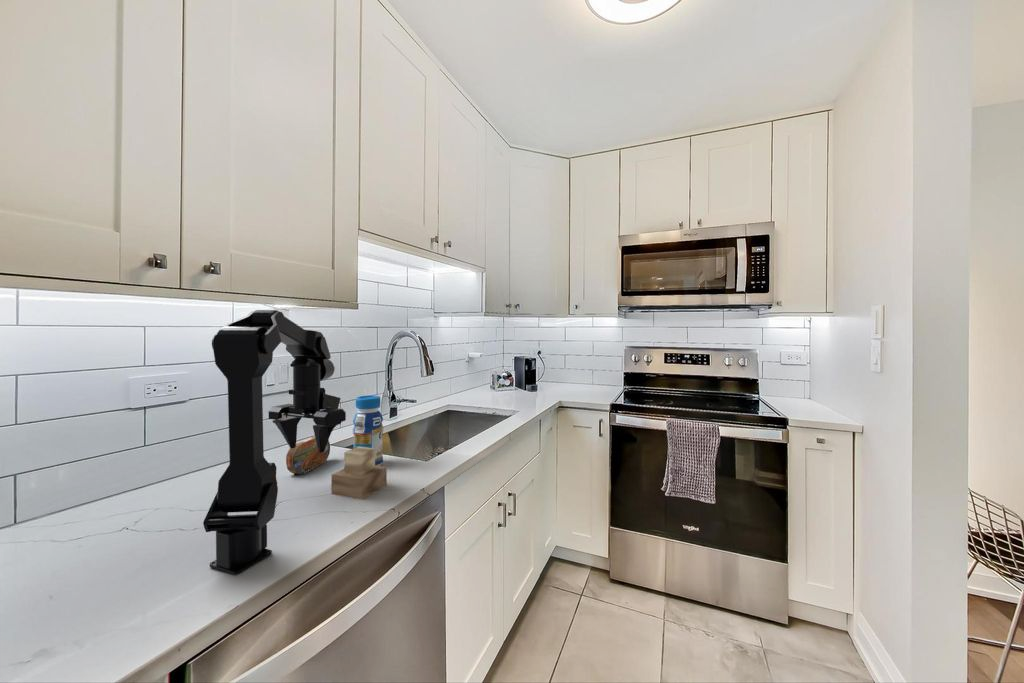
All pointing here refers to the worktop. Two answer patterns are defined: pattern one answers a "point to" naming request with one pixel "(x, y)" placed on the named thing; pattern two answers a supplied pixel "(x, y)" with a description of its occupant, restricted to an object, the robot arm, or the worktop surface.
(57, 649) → the worktop surface
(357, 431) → the beverage bottle
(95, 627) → the worktop surface
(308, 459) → the tin
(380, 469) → the walnut block
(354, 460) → the maple cube
